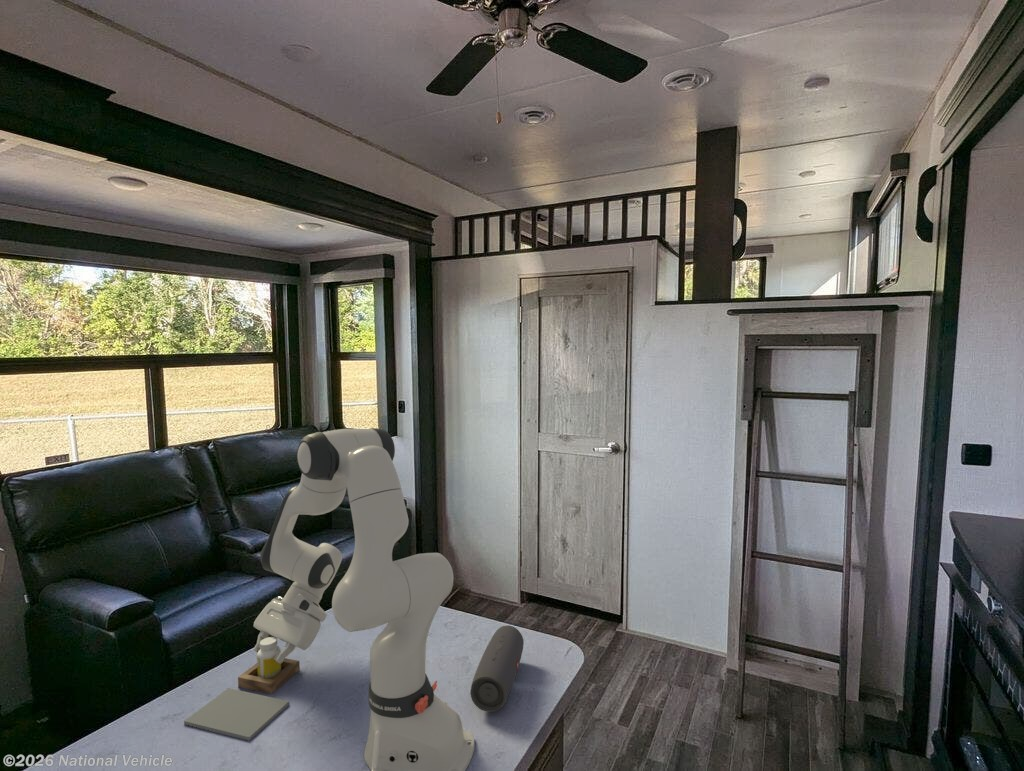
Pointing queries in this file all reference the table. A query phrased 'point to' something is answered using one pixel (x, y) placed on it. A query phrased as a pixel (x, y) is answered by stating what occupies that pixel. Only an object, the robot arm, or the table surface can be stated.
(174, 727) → the table surface
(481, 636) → the table surface
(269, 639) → the supplement bottle
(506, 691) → the bluetooth speaker
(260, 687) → the walnut collar
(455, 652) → the table surface
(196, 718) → the slate mat
